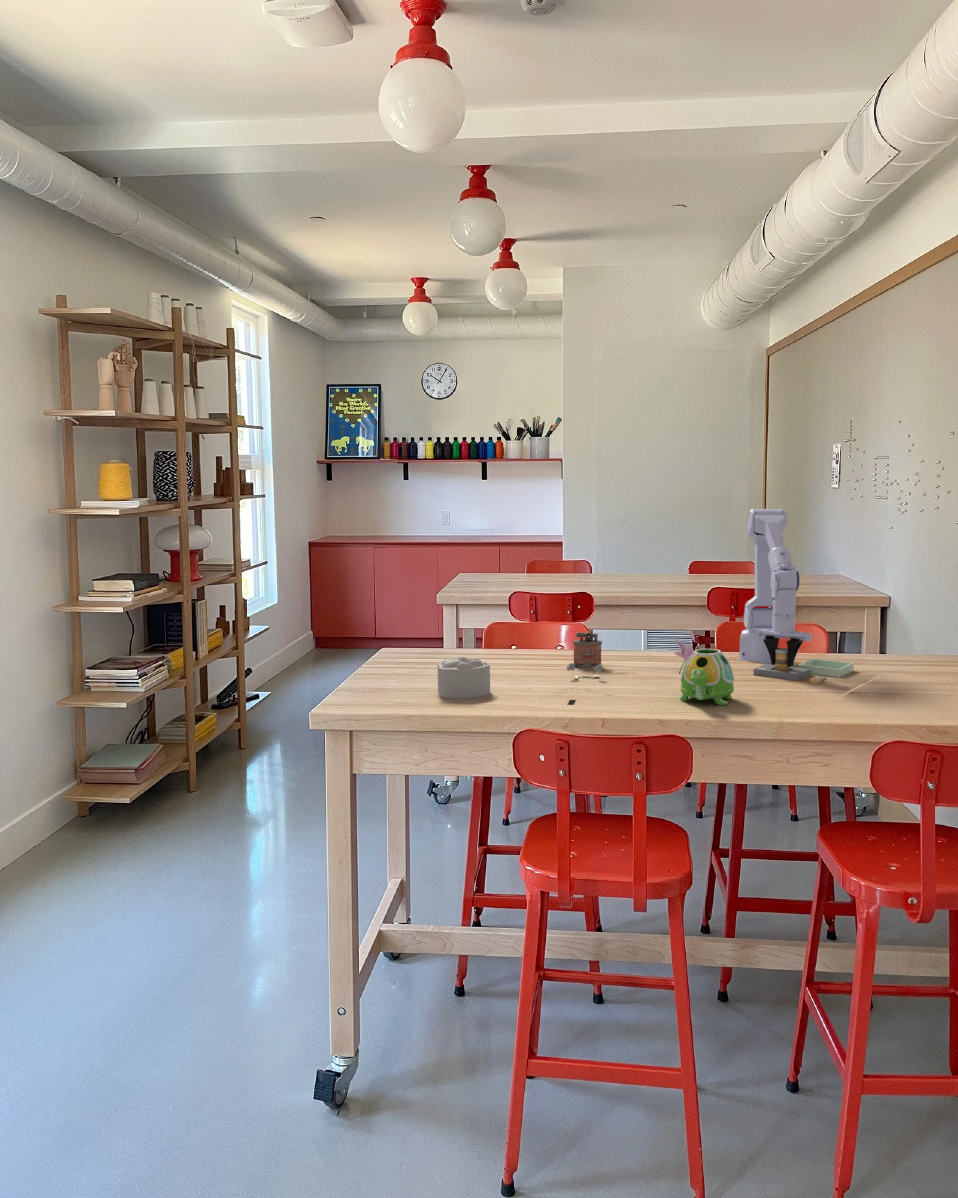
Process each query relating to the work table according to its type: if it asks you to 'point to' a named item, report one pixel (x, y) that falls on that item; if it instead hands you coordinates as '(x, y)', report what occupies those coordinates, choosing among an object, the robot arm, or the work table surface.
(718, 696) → the turtle holder
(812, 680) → the puller tool
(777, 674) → the fuse block
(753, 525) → the robot arm
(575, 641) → the lighter
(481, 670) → the lumpy-topped squat cylinder
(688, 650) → the lily
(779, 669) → the fuse
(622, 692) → the work table surface
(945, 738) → the work table surface
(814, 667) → the parts tray
